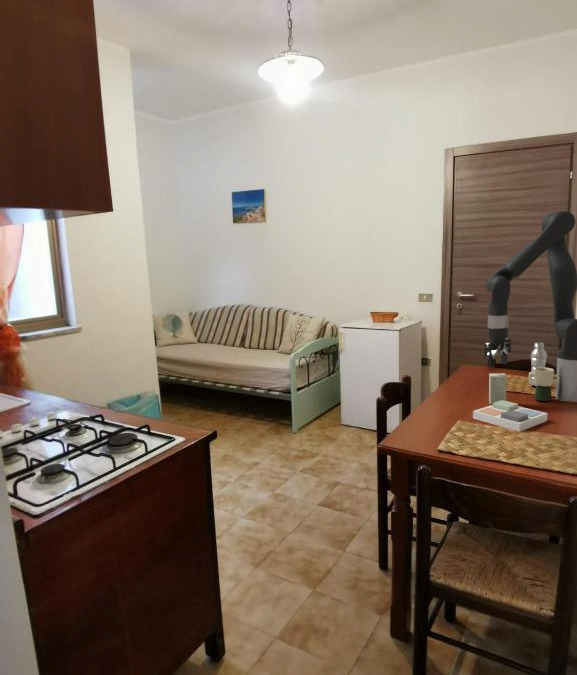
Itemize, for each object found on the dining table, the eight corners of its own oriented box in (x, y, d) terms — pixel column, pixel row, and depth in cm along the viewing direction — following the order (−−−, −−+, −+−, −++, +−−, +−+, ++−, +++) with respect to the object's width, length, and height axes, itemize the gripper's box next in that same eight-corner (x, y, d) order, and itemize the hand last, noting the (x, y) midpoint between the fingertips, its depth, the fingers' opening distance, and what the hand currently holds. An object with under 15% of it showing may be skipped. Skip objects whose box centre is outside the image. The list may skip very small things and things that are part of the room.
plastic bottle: (525, 386, 217) (527, 342, 214) (537, 384, 219) (539, 341, 215) (537, 389, 211) (538, 345, 207) (549, 387, 213) (551, 343, 209)
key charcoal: (510, 414, 173) (510, 410, 172) (528, 419, 167) (528, 414, 167) (500, 418, 170) (500, 413, 169) (518, 423, 164) (518, 418, 164)
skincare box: (505, 402, 195) (506, 373, 193) (506, 405, 191) (507, 376, 189) (488, 401, 197) (489, 372, 195) (489, 404, 193) (489, 375, 191)
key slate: (524, 413, 178) (524, 408, 177) (541, 417, 172) (541, 412, 172) (514, 416, 174) (514, 412, 174) (532, 421, 169) (532, 416, 169)
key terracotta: (488, 412, 180) (488, 407, 180) (504, 416, 175) (504, 411, 175) (478, 415, 177) (478, 411, 177) (494, 420, 172) (494, 415, 172)
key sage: (502, 404, 185) (502, 400, 184) (517, 408, 179) (518, 403, 179) (492, 407, 182) (492, 403, 181) (508, 411, 176) (508, 407, 176)
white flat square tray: (500, 409, 187) (500, 402, 187) (547, 420, 172) (547, 413, 171) (472, 418, 178) (473, 411, 177) (519, 431, 163) (519, 423, 162)
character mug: (558, 399, 196) (560, 368, 193) (557, 404, 190) (558, 372, 188) (529, 396, 201) (530, 366, 199) (526, 400, 196) (528, 369, 194)
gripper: (499, 323, 198) (499, 361, 201) (478, 327, 191) (478, 367, 193) (517, 324, 192) (516, 364, 195) (495, 329, 184) (495, 370, 187)
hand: (497, 365), depth 194 cm, fingers open, 8 cm apart
